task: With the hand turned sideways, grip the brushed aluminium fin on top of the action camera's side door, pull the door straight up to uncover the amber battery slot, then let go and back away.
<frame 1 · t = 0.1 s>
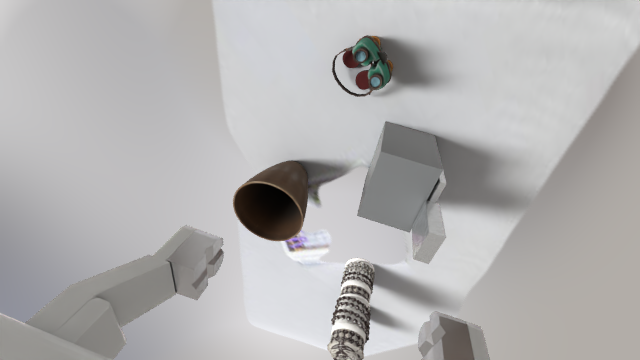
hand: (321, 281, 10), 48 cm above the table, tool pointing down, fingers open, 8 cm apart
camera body: (397, 158, 58), on the table
side door: (429, 199, 48), point 12 cm above the table, slide at 0.0 cm
decorative candle: (360, 267, 79), on the table
binoculars: (364, 65, 51), on the table
plant pot: (294, 173, 68), on the table
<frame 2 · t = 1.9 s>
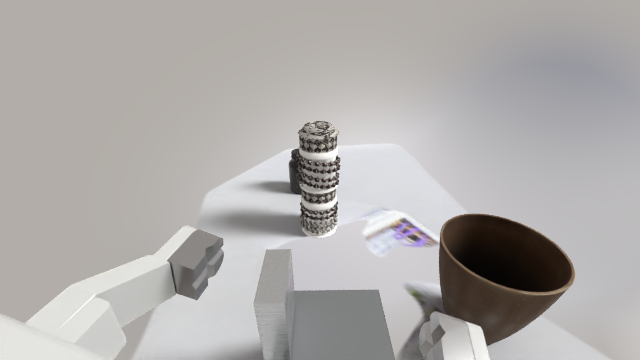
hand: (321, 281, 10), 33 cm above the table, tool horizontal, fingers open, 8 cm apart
supplement bottle: (301, 189, 81), on the table
decorative candle: (319, 227, 65), on the table
plant pot: (470, 323, 44), on the table
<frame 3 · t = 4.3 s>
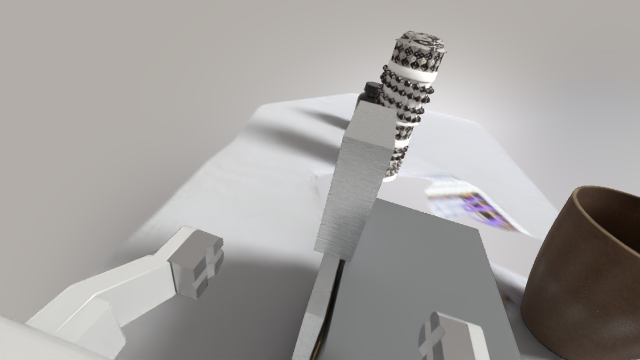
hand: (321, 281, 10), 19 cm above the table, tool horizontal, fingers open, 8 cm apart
side door: (328, 265, 19), point 12 cm above the table, slide at 0.0 cm
supplement bottle: (362, 131, 71), on the table
decorative candle: (375, 170, 56), on the table
plant pot: (551, 329, 33), on the table
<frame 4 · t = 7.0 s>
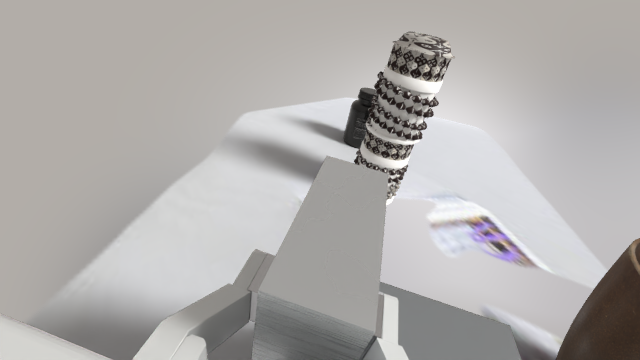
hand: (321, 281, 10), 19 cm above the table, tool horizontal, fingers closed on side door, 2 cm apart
supplement bottle: (356, 142, 64), on the table
decorative candle: (369, 191, 49), on the table
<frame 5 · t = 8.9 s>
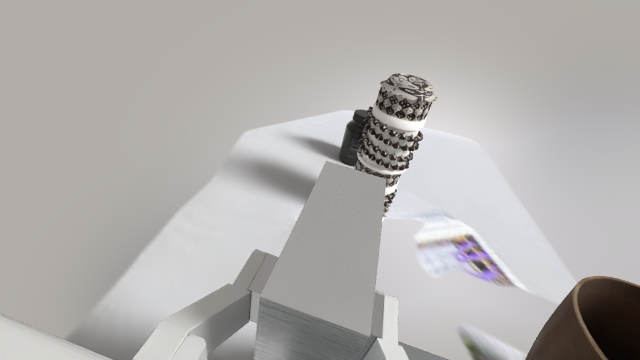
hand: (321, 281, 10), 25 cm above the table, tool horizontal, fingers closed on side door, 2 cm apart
supplement bottle: (351, 159, 67), on the table
decorative candle: (362, 211, 52), on the table
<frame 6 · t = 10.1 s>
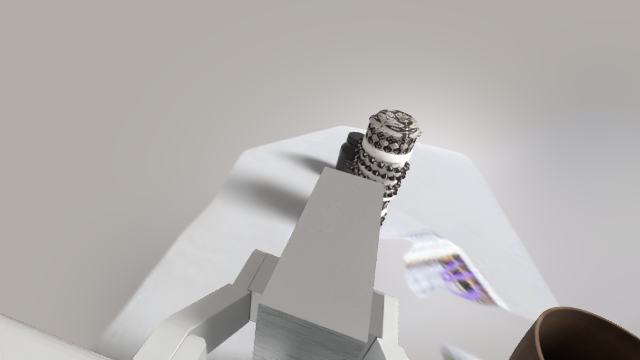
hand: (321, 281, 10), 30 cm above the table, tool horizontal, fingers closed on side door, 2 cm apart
supplement bottle: (346, 178, 70), on the table
decorative candle: (354, 232, 55), on the table
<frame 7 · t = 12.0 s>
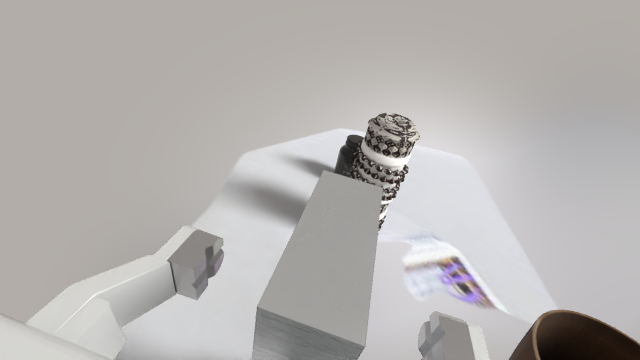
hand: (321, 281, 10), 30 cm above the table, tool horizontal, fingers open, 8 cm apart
supplement bottle: (345, 181, 70), on the table
decorative candle: (353, 234, 55), on the table
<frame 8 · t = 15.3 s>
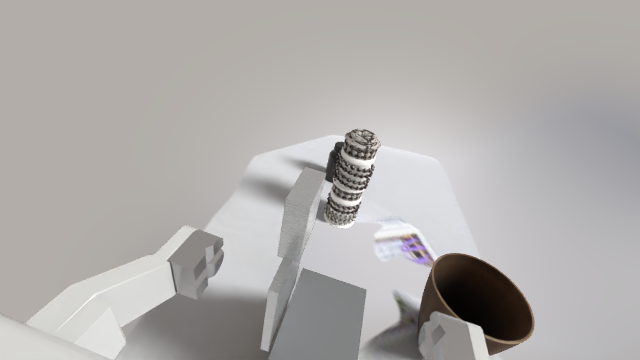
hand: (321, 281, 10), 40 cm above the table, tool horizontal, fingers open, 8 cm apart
side door: (288, 265, 31), point 23 cm above the table, slide at 10.7 cm
supplement bottle: (334, 178, 89), on the table
decorative candle: (338, 217, 74), on the table
plant pot: (436, 341, 51), on the table
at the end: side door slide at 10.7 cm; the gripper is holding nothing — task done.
